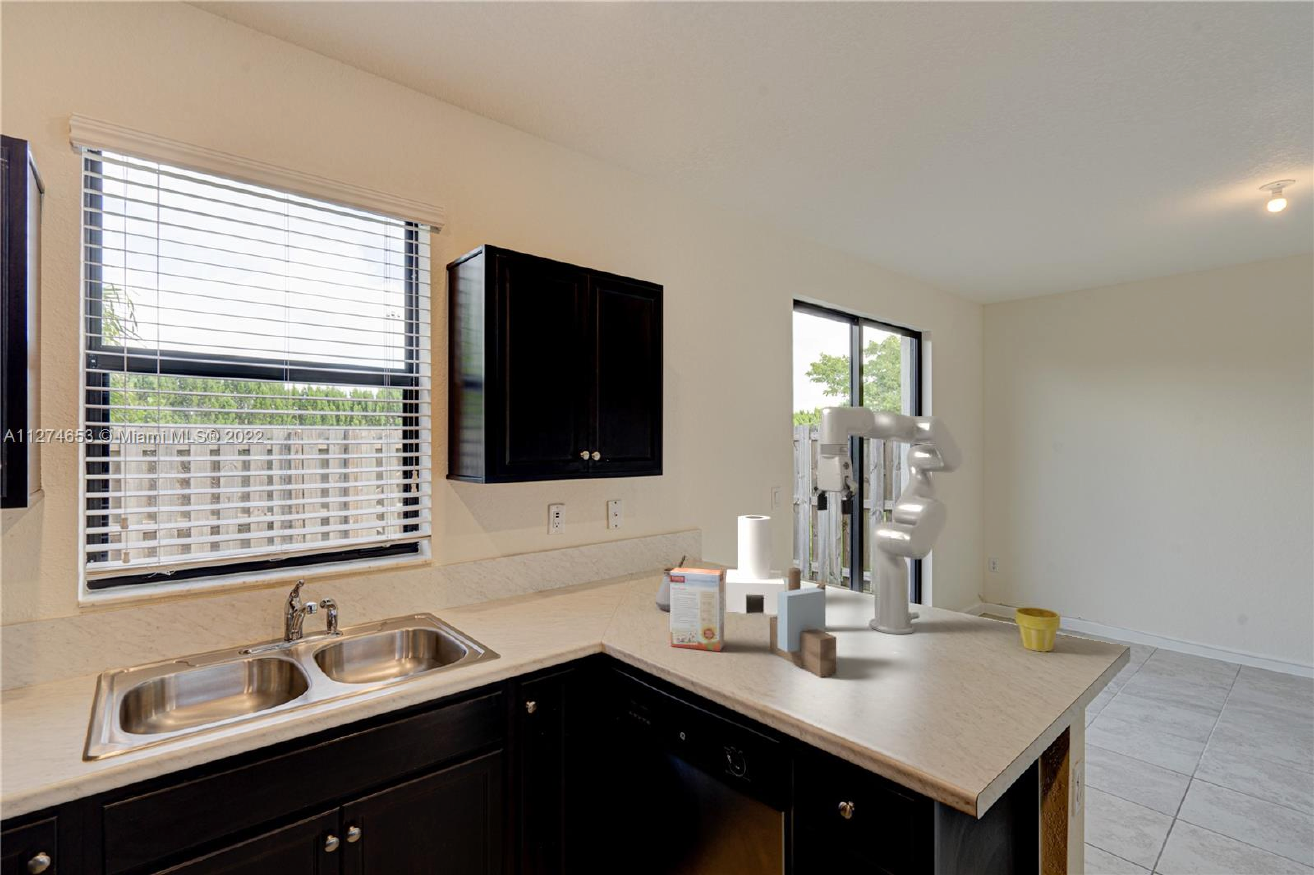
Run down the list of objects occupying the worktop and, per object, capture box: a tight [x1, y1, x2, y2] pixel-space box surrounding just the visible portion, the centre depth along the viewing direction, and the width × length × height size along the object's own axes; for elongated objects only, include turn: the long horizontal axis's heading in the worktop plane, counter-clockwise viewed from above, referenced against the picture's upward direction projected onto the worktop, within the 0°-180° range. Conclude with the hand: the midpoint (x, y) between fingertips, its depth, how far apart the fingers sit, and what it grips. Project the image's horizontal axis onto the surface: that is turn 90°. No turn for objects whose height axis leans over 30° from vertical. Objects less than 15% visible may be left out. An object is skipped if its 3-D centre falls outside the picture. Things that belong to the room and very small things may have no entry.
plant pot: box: [1014, 606, 1061, 653], centre depth 167 cm, size 10×10×10 cm
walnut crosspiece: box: [769, 615, 837, 678], centre depth 157 cm, size 5×20×9 cm, turn 26°
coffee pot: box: [654, 554, 689, 612], centre depth 210 cm, size 21×12×15 cm, turn 160°
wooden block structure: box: [787, 567, 826, 591], centre depth 183 cm, size 4×11×18 cm, turn 86°
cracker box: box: [669, 567, 725, 652], centre depth 169 cm, size 14×6×21 cm, turn 71°
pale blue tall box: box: [777, 586, 826, 652], centre depth 157 cm, size 12×4×14 cm, turn 116°
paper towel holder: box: [725, 514, 785, 615], centre depth 208 cm, size 19×19×30 cm
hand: (834, 512), depth 172 cm, fingers open, 9 cm apart
